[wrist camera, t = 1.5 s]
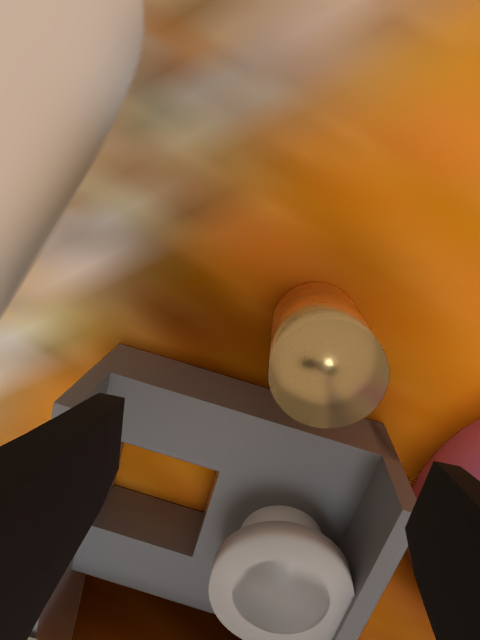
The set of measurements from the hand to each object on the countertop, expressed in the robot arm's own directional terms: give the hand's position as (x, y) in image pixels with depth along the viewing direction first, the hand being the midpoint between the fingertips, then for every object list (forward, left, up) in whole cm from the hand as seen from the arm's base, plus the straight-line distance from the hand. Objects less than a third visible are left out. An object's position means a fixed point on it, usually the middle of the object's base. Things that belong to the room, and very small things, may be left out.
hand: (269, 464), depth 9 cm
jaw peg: (-2, -1, -11) cm, 11 cm away
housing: (0, +15, -11) cm, 19 cm away
